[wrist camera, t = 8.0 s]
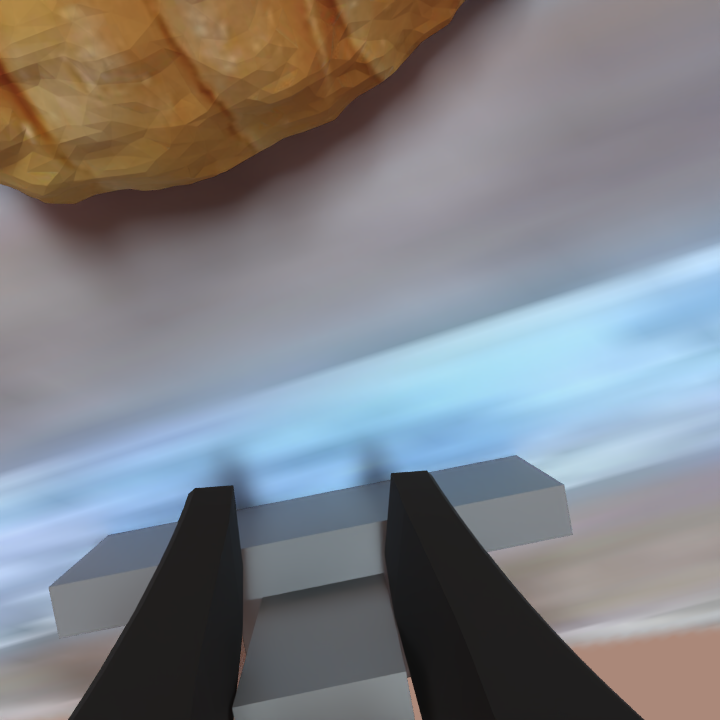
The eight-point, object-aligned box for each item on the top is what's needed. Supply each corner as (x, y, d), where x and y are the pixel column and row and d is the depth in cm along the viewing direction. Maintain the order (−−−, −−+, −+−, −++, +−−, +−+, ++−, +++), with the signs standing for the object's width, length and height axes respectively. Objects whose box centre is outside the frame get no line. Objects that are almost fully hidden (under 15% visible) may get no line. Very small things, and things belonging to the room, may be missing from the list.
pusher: (516, 455, 15) (644, 535, 9) (544, 613, 15) (689, 799, 9) (108, 535, 14) (-56, 677, 8) (141, 696, 14) (4, 951, 8)
